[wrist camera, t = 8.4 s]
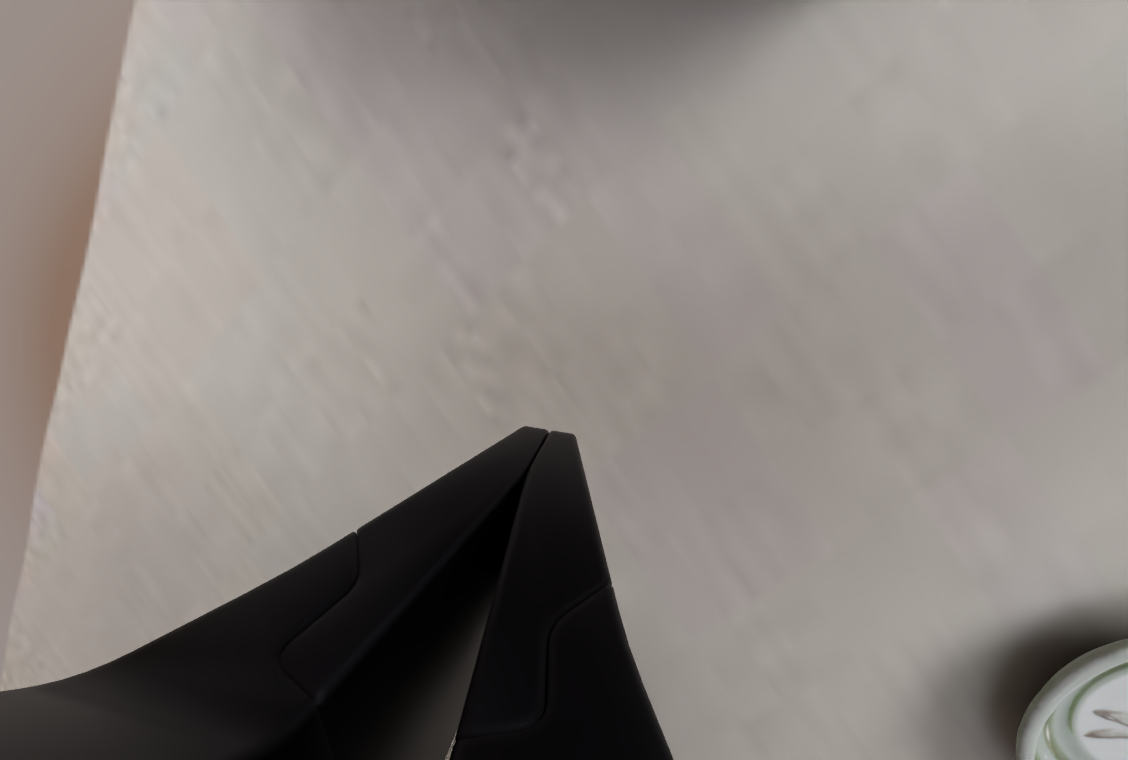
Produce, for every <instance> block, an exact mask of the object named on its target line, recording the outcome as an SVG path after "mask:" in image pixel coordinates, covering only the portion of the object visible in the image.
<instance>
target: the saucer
mask: <svg viewBox="0 0 1128 760" xmlns="http://www.w3.org/2000/svg"><path fill="white" fill-rule="evenodd" d="M1015 754H1016V760H1128V638H1127V639H1123V640H1119V641H1115V642H1112V643H1109V644H1106V645H1103V646H1101V647H1098V648H1096V649H1094V650H1091V651H1089V652H1087V653H1085V654H1083V655H1081V656H1080V657H1078V658H1076V659H1075V660H1073V661H1071V662H1070V663H1068V664H1067V665H1066V666H1064V667H1063V668H1062V669H1060V670H1059V671H1058V672H1057V673H1056V674H1055V675H1054V676H1053V677H1052V678H1051V679H1050V680H1049V681H1048V682H1047V683H1046V684H1045V685H1044V687H1043V688H1042V689H1041V690H1040V691H1039V693H1038V694H1037V695H1036V696H1035V698H1034V699H1033V700H1032V702H1031V703H1030V704H1029V706H1028V708H1027V710H1026V712H1025V713H1024V716H1023V718H1022V721H1021V723H1020V725H1019V727H1018V732H1017V736H1016V751H1015Z"/></svg>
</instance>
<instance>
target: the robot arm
mask: <svg viewBox="0 0 1128 760" xmlns="http://www.w3.org/2000/svg"><path fill="white" fill-rule="evenodd" d="M611 585H612V582H611V578H610V574H609V570H608V566H607V562H606V558H605V554H604V550H603V546H602V542H601V537H600V533H599V529H598V525H597V521H596V517H595V513H594V509H593V505H592V501H591V497H590V493H589V489H588V485H587V481H586V477H585V472H584V468H583V464H582V460H581V456H580V452H579V448H578V444H577V440H576V437H575V435H574V434H571V433H564V432H558V431H551V432H550V433H549V432H548V431H547V430H545V429H540V428H534V427H528V426H525V427H522V428H520V429H519V430H517V431H515V432H514V433H512V434H510V435H509V436H507V437H506V438H504V439H502V440H501V441H499V442H498V443H496V444H494V445H493V446H491V447H489V448H488V449H486V450H485V451H483V452H481V453H480V454H478V455H477V456H475V457H473V458H472V459H470V460H468V461H467V462H465V463H464V464H462V465H460V466H459V467H457V468H456V469H454V470H452V471H451V472H449V473H447V474H446V475H444V476H443V477H441V478H439V479H438V480H436V481H435V482H433V483H431V484H430V485H428V486H426V487H425V488H423V489H422V490H420V491H418V492H417V493H415V494H414V495H412V496H410V497H409V498H407V499H405V500H404V501H402V502H401V503H399V504H397V505H396V506H394V507H393V508H391V509H389V510H388V511H386V512H384V513H383V514H381V515H380V516H378V517H376V518H375V519H373V520H372V521H370V522H368V523H367V524H365V525H363V526H362V527H360V528H359V529H358V530H357V534H356V533H355V532H352V533H350V534H349V535H347V536H345V537H344V538H342V539H340V540H339V541H337V542H336V543H334V544H332V545H331V546H329V547H327V548H326V549H324V550H322V551H321V552H319V553H317V554H316V555H314V556H312V557H310V558H309V559H307V560H305V561H304V562H302V563H300V564H299V565H297V566H295V567H293V568H292V569H290V570H288V571H286V572H284V573H283V574H281V575H279V576H277V577H275V578H273V579H271V580H269V581H268V582H266V583H264V584H262V585H260V586H258V587H256V588H255V589H253V590H251V591H249V592H247V593H245V594H243V595H241V596H239V597H237V598H236V599H234V600H232V601H230V602H228V603H226V604H224V605H222V606H220V607H218V608H216V609H214V610H212V611H210V612H208V613H206V614H204V615H202V616H201V617H199V618H197V619H195V620H193V621H191V622H189V623H187V624H185V625H183V626H181V627H179V628H177V629H175V630H173V631H171V632H169V633H168V634H166V635H164V636H162V637H160V638H158V639H156V640H154V641H152V642H150V643H148V644H146V645H144V646H142V647H140V648H138V649H136V650H134V651H133V652H131V653H128V654H126V655H124V656H122V657H120V658H118V659H116V660H114V661H112V662H110V663H107V664H105V665H102V666H100V667H97V668H95V669H92V670H90V671H87V672H84V673H81V674H78V675H75V676H72V677H69V678H66V679H63V680H59V681H55V682H51V683H46V684H42V685H38V686H33V687H27V688H21V689H15V690H8V691H1V692H0V760H445V757H446V755H447V752H448V750H449V748H450V745H451V743H452V740H453V738H454V735H455V733H456V730H457V728H458V730H457V734H456V738H455V744H454V746H453V749H452V753H451V756H450V760H673V757H672V755H671V752H670V750H669V747H668V745H667V742H666V740H665V737H664V735H663V732H662V730H661V727H660V725H659V723H658V720H657V718H656V715H655V713H654V710H653V708H652V705H651V703H650V700H649V698H648V695H647V693H646V690H645V688H644V685H643V683H642V680H641V677H640V674H639V672H638V669H637V666H636V663H635V661H634V658H633V655H632V652H631V650H630V647H629V644H628V640H627V637H626V633H625V630H624V627H623V623H622V620H621V616H620V613H619V609H618V605H617V601H616V597H615V593H614V589H613V587H612V586H611Z"/></svg>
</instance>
